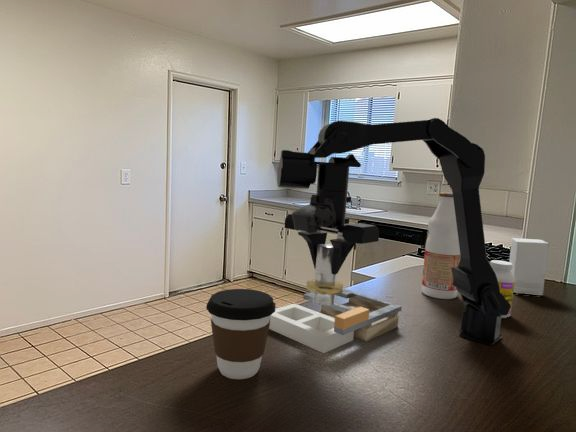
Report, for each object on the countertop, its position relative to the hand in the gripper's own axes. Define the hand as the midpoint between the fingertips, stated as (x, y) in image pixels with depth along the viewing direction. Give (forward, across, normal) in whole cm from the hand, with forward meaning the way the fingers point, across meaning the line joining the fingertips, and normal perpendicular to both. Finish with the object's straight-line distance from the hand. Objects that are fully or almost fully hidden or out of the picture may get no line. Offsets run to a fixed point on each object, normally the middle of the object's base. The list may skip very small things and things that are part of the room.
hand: (325, 271), depth 81 cm
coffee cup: (+14, 0, -20) cm, 24 cm away
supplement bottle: (+13, +18, +45) cm, 50 cm away
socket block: (+13, +1, +12) cm, 18 cm away
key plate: (+9, -2, +7) cm, 12 cm away
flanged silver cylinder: (+6, 0, 0) cm, 6 cm away
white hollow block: (+13, -3, 0) cm, 14 cm away
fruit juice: (+13, +2, +49) cm, 50 cm away
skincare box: (+13, +16, +72) cm, 75 cm away
